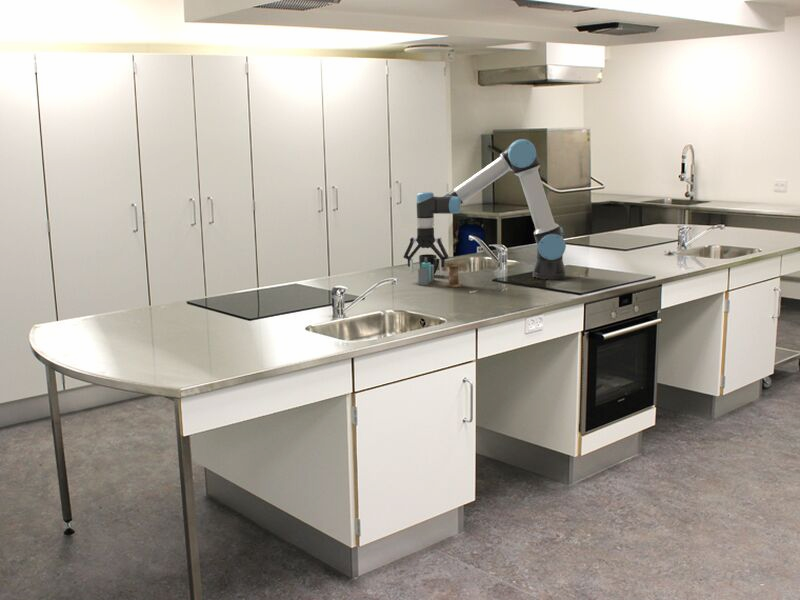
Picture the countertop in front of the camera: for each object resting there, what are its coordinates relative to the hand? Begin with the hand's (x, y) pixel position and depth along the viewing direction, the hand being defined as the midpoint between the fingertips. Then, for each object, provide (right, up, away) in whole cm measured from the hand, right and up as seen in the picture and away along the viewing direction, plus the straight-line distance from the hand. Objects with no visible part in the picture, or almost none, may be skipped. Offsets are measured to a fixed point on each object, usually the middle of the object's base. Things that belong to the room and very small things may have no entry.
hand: (426, 274), depth 394 cm
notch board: (0, -4, +1) cm, 4 cm away
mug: (+2, 0, +17) cm, 18 cm away
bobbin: (+12, -5, -9) cm, 16 cm away
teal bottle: (0, -3, +1) cm, 3 cm away
